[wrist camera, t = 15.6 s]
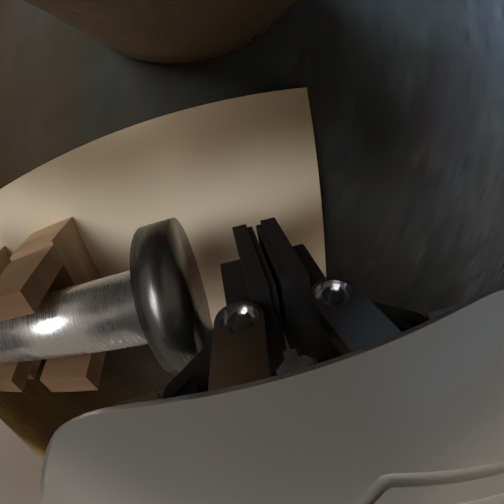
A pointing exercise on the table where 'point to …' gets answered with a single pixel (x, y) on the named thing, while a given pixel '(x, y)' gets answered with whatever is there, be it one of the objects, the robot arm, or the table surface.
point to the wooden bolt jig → (156, 207)
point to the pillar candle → (170, 25)
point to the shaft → (123, 308)
